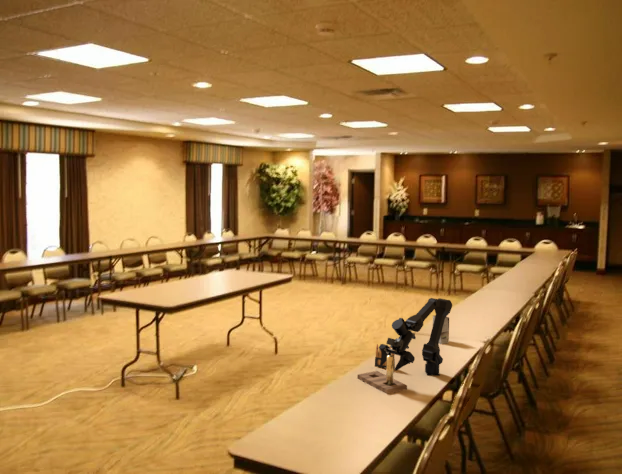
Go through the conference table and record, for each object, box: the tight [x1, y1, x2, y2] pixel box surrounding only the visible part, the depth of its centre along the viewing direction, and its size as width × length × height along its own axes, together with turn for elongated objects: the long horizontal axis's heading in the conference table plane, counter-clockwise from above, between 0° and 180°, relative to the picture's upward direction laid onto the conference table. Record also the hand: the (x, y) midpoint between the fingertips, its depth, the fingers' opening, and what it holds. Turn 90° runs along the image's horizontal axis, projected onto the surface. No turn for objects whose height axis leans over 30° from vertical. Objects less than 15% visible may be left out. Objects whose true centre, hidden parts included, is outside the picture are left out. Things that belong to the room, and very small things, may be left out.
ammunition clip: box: [374, 344, 396, 370], centre depth 298 cm, size 11×2×12 cm, turn 62°
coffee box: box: [432, 314, 450, 345], centre depth 349 cm, size 9×6×16 cm
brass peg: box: [385, 355, 395, 386], centre depth 267 cm, size 3×3×16 cm
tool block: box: [356, 370, 408, 395], centre depth 273 cm, size 24×12×2 cm, turn 30°
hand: (387, 367), depth 266 cm, fingers open, 9 cm apart
